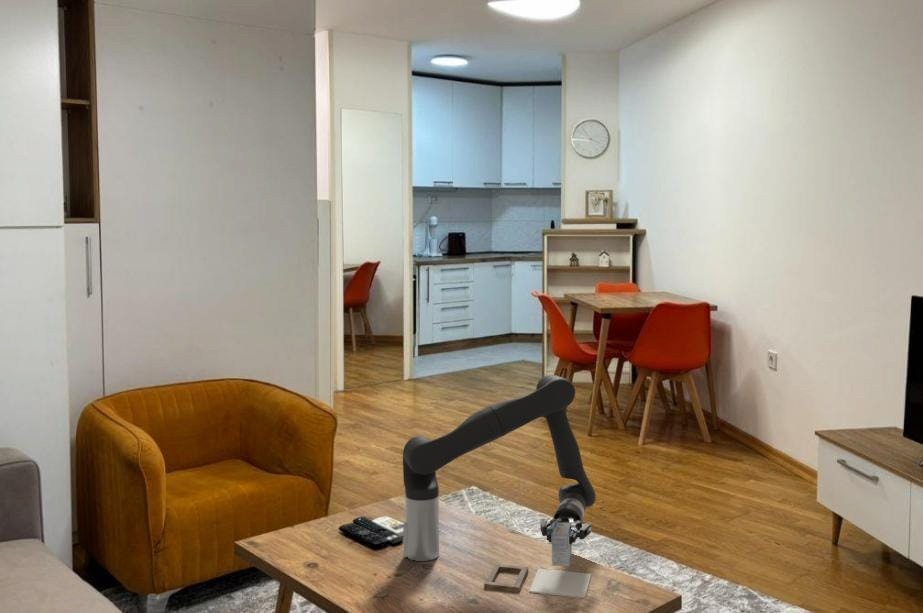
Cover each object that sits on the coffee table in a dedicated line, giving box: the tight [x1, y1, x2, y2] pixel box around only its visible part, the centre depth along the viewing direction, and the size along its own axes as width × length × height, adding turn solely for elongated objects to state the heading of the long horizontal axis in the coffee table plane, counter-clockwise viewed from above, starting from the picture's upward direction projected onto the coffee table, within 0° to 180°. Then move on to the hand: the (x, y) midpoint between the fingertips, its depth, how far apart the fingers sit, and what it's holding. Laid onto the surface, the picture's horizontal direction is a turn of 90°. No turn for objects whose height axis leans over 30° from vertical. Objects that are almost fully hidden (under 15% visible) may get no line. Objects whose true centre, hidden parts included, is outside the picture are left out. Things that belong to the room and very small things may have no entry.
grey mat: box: [528, 568, 592, 599], centre depth 223 cm, size 14×14×1 cm
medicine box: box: [551, 523, 573, 567], centre depth 222 cm, size 8×4×9 cm, turn 168°
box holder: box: [483, 563, 529, 593], centre depth 226 cm, size 9×13×1 cm
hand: (560, 539), depth 219 cm, fingers closed on medicine box, 4 cm apart
